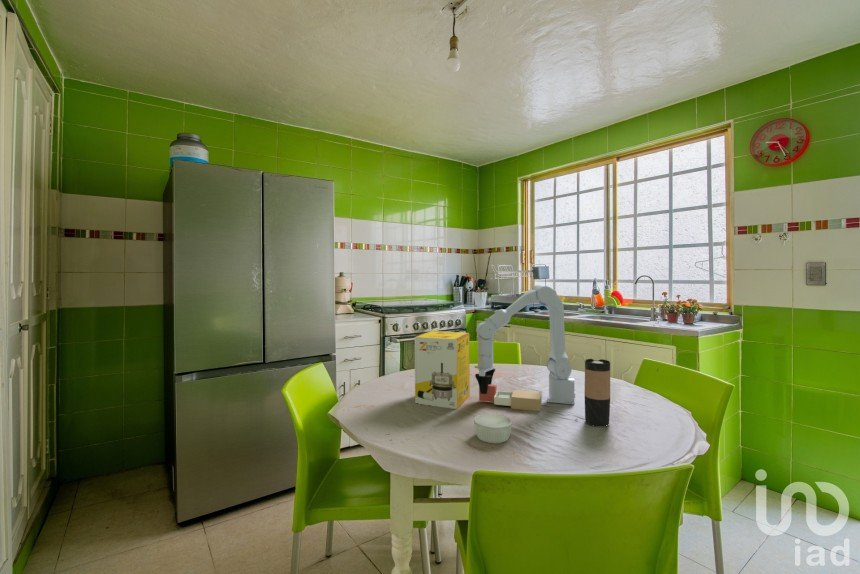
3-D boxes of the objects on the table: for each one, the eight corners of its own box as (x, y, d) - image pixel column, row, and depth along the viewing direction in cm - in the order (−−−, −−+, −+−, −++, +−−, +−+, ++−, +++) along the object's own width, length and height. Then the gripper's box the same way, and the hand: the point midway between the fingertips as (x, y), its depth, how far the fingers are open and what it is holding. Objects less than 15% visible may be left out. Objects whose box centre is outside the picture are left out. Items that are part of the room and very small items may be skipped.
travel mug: (598, 429, 125) (599, 364, 124) (579, 421, 131) (579, 360, 131) (615, 424, 128) (615, 362, 127) (595, 416, 135) (595, 357, 134)
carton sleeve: (541, 403, 149) (541, 392, 149) (540, 411, 141) (540, 399, 140) (514, 400, 152) (514, 389, 152) (511, 408, 144) (511, 396, 144)
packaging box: (415, 403, 150) (414, 337, 149) (431, 391, 165) (430, 330, 164) (456, 409, 144) (456, 339, 143) (469, 396, 159) (469, 332, 158)
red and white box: (522, 400, 151) (522, 385, 150) (520, 406, 143) (520, 390, 143) (481, 396, 155) (481, 381, 155) (477, 402, 148) (477, 387, 148)
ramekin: (512, 446, 113) (512, 428, 113) (472, 444, 115) (472, 425, 115) (512, 431, 124) (512, 414, 124) (475, 428, 126) (475, 412, 126)
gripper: (478, 350, 159) (479, 384, 159) (470, 357, 145) (470, 395, 145) (496, 351, 156) (496, 385, 157) (490, 359, 143) (490, 397, 143)
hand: (485, 390), depth 151 cm, fingers open, 7 cm apart
